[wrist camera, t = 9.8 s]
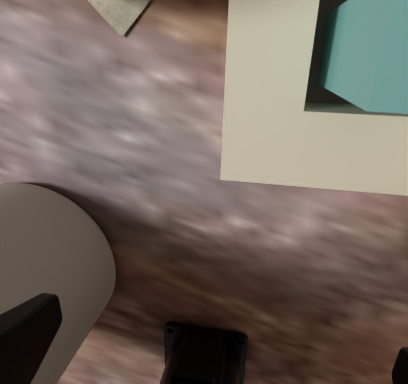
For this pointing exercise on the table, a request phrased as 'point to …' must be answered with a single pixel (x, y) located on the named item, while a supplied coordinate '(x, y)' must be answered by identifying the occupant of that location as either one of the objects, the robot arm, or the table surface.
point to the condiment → (119, 12)
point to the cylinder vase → (54, 265)
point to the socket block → (300, 108)
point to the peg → (368, 54)
